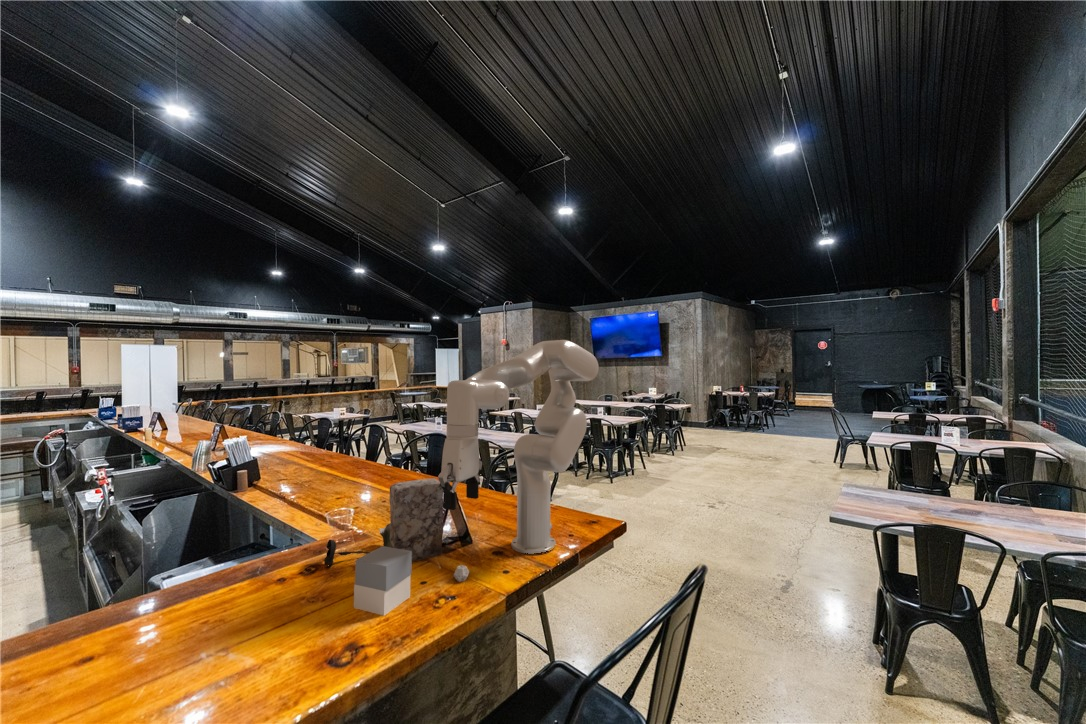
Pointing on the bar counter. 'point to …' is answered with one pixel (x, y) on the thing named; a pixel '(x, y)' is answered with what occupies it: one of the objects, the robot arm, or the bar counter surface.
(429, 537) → the stone block
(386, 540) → the artificial flower
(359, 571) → the upper block
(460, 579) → the game die
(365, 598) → the lower block
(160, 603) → the bar counter surface
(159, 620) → the bar counter surface
